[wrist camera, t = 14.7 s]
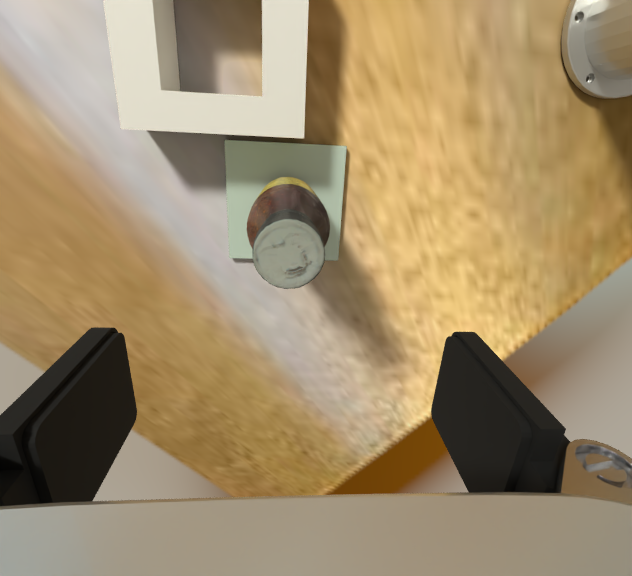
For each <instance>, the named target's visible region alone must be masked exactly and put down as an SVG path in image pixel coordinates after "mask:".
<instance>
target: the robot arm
mask: <svg viewBox="0 0 632 576" xmlns="http://www.w3.org/2000/svg"><path fill="white" fill-rule="evenodd" d="M561 40H562V56H563V61H564V66H565V68H566V70H567V73H568V75H569V77H570V78H571V80H572V81H573V82H574V84H575V85H576V86H577V87H578V88H579V89H581V90H582V91H583V92H584V93H586V94H589V95H591V96H593V97H597V98H603V99H609V98H620V97H626V96H630V95H632V0H571V2H570V4H569V7H568V9H567V13H566V16H565V20H564V23H563V30H562V38H561ZM431 413H432V419H433V421H434V423H435V425H436V428H437V430H438V431H439V434H440V435H441V437H442V439H443V441H444V444H445V446H446V447H447V450H448V452H449V454H450V455H451V458H452V459H453V462H454V464H455V465H456V467H457V470H458V471H459V474H460V476H461V478H462V479H463V481H464V484H465V486H466V488H467V490H468V491H469V493H412V494H411V493H410V494H354V495H308V496H265V497H224V498H192V499H191V498H190V499H156V500H124V501H123V500H122V501H92V500H93V499H94V497H95V495H96V493H97V491H98V489H99V487H100V486H101V484H102V482H103V480H104V478H105V477H106V475H107V473H108V471H109V469H110V467H111V465H112V464H113V462H114V460H115V458H116V456H117V454H118V453H119V450H120V449H121V447H122V445H123V443H124V442H125V440H126V438H127V436H128V434H129V432H130V430H131V429H132V427H133V425H134V423H135V420H136V415H137V408H136V402H135V397H134V391H133V385H132V379H131V373H130V367H129V361H128V355H127V349H126V344H125V338H124V335H123V334H122V333H118V331H117V330H116V329H115V328H91V329H89V330H88V331H87V332H86V333H85V334H84V335H83V336H82V337H81V338H80V339H79V340H78V341H77V342H76V343H75V344H74V345H73V346H72V347H71V348H70V349H69V350H67V351H66V352H65V353H64V354H63V355H62V356H61V357H60V358H59V359H58V360H57V361H56V362H55V363H54V364H53V365H52V366H51V367H50V368H49V369H48V370H47V371H46V372H45V373H44V374H43V375H42V376H41V377H40V378H39V379H38V380H36V381H35V382H34V383H33V384H32V385H31V386H30V387H29V388H28V389H27V390H26V391H25V392H24V393H23V394H22V395H21V396H20V397H19V398H18V399H17V400H16V401H15V402H14V403H13V404H12V405H11V406H9V407H8V408H7V409H6V411H4V412H3V413H2V414H1V415H0V576H632V459H631V458H630V457H628V456H627V455H625V454H623V453H622V452H620V451H619V450H617V449H615V448H613V447H611V446H608V445H606V444H603V443H600V442H597V441H593V440H587V439H580V440H574V441H572V442H570V441H569V440H568V439H567V438H566V437H565V436H564V433H565V430H566V429H565V428H564V426H562V424H561V423H560V422H559V421H558V420H557V419H556V418H555V417H554V416H553V415H552V414H551V413H550V412H549V410H547V408H546V407H545V406H544V405H543V404H542V403H541V402H540V401H539V400H538V399H537V398H536V397H535V396H534V394H533V393H532V392H531V391H530V390H529V389H528V388H527V387H526V386H525V385H524V384H523V383H522V382H521V381H520V380H519V378H518V377H516V375H515V374H514V373H513V372H512V371H511V370H510V369H509V368H508V367H507V366H506V365H505V364H504V363H503V361H502V360H501V359H500V358H499V357H498V356H497V355H496V354H495V353H494V352H493V351H492V350H491V349H490V348H489V347H488V345H487V344H486V343H485V342H484V341H483V340H482V339H481V338H480V337H479V336H478V335H477V334H476V333H475V332H454V333H453V334H452V336H451V337H447V339H446V342H445V347H444V351H443V356H442V361H441V366H440V370H439V375H438V380H437V385H436V389H435V394H434V399H433V404H432V409H431Z"/></svg>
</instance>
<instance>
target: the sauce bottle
mask: <svg viewBox="0 0 632 576" xmlns="http://www.w3.org/2000/svg"><path fill="white" fill-rule="evenodd" d="M329 234H330V222H329V217H328V214H327V211H326V209H325V207H324V205H323V204H322V202H321V201H320V199H319V198H318V196H317V195H316V194H315V192H314V191H313V190H312V189H311V187H310V186H309V185H308V184H306V183H305V182H304V181H302V180H299V179H297V178H293V177H280V178H278V179H275V180H273V181H271V182H270V183H268V184H267V185H266V186H265V187H264V189H263V190H262V191H261V193H260V194H259V196H258V197H257V199H256V200H255V202H254V203H253V205H252V207H251V210H250V213H249V216H248V221H247V236H248V240H249V243H250V245H251V247H252V249H253V250H252V252H253V262H254V265H255V268H256V270H257V271H258V273H259V274H260V275H261V276H262V278H263V279H265V280H266V281H267V282H268V283H270V284H272V285H274V286H276V287H280V288H284V289H289V288H299V287H301V286H304V285H305V284H307V283H309V282H310V281H312V280H313V279H314V278H315V277H316V276H317V275H318V274H319V272H320V270H321V268H322V266H323V264H324V261H325V248H324V247H325V245H326V244H327V241H328V238H329Z"/></svg>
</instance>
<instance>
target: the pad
mask: <svg viewBox="0 0 632 576" xmlns="http://www.w3.org/2000/svg"><path fill="white" fill-rule="evenodd" d="M224 143H225V167H226V191H227V215H228V239H229V258H246V259H253V252H252V250H253V249H252V247H251V245H250V243H249V240H248V236H247V221H248V216H249V213H250V210H251V207H252V205H253V203H254V202H255V200H256V199H257V197H258V196H259V194H260V193H261V191H262V190H263V189H264V187H265V186H266V185H267V184H268V183H270V182H271V181H273V180H275V179H278V178H280V177H293V178H297V179H299V180H302V181H304V182H305V183H306V184H308V185H309V186H310V187H311V189H312V190H313V191H314V192H315V194H316V195H317V196H318V198H319V199H320V201H321V202H322V204H323V205H324V207H325V209H326V211H327V214H328V217H329V222H330V234H329V238H328V241H327V244H326V245H325V247H324V248H325V260H330V261H338V256H339V242H340V229H341V215H342V202H343V188H344V175H345V161H346V148H347V146H337V145H317V144H298V143H278V142H258V141H239V140H224Z"/></svg>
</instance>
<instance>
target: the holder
mask: <svg viewBox="0 0 632 576" xmlns="http://www.w3.org/2000/svg"><path fill="white" fill-rule="evenodd" d="M103 3H104V10H105V18H106V25H107V32H108V39H109V47H110V54H111V61H112V68H113V76H114V83H115V90H116V97H117V105H118V112H119V119H120V126H121V129H131V130H150V131H170V132H189V133H208V134H227V135H246V136H265V137H285V138H304V125H305V96H306V66H307V36H308V6H309V0H262V97H261V96H245V95H229V94H213V93H196V92H181V91H180V79H179V66H178V54H177V41H176V28H175V16H174V3H173V0H103Z"/></svg>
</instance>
